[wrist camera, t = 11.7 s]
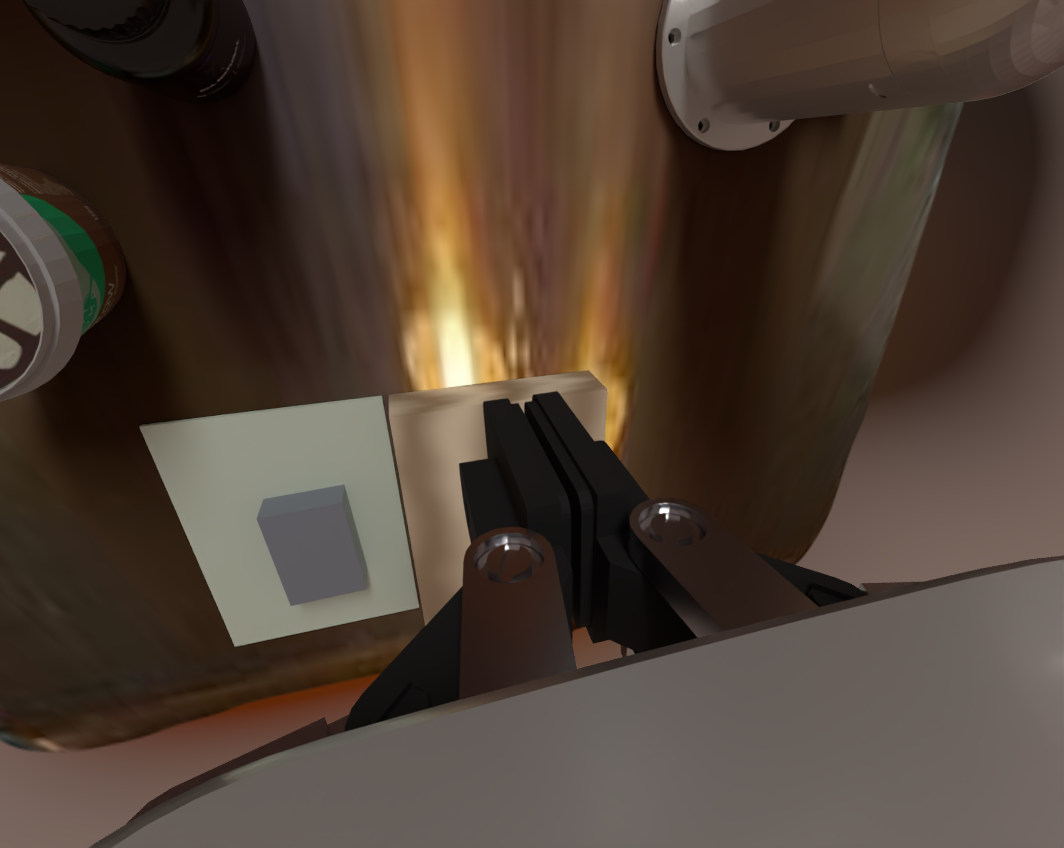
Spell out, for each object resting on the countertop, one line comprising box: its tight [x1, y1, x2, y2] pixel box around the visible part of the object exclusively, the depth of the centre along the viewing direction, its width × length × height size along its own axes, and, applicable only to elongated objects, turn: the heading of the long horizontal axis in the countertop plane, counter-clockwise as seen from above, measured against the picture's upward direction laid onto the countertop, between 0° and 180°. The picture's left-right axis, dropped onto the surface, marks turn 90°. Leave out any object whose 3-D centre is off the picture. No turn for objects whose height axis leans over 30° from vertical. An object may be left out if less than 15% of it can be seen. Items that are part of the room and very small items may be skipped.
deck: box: [389, 371, 607, 626], centre depth 43 cm, size 16×22×4 cm
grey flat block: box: [257, 485, 367, 606], centre depth 41 cm, size 6×9×2 cm, turn 3°
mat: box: [140, 396, 419, 647], centre depth 41 cm, size 16×22×1 cm
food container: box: [0, 164, 126, 402], centre depth 26 cm, size 12×6×10 cm, turn 149°
